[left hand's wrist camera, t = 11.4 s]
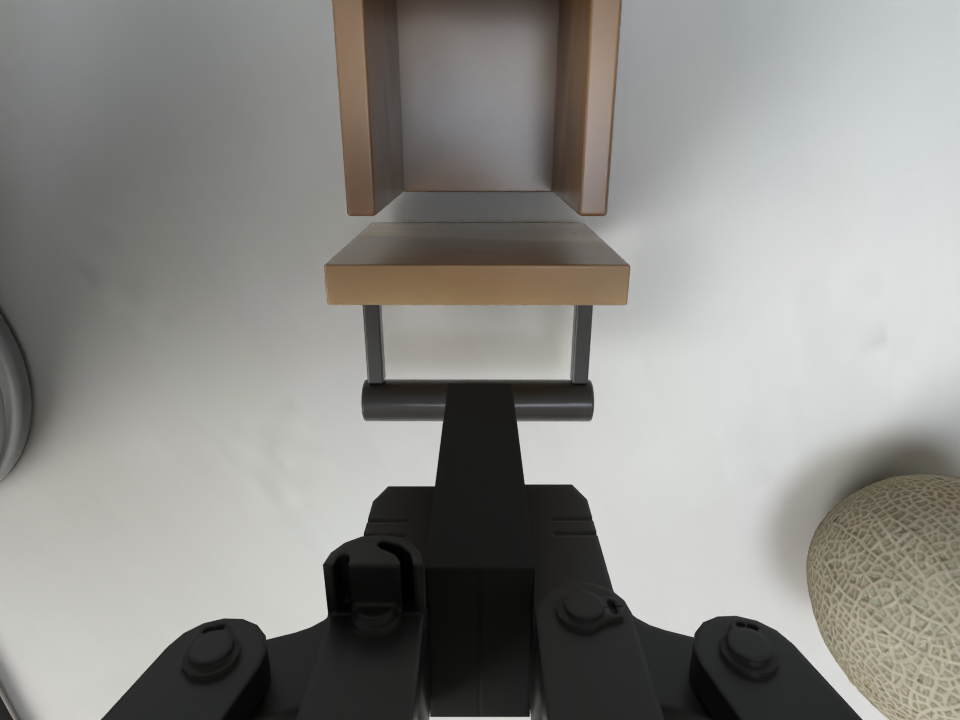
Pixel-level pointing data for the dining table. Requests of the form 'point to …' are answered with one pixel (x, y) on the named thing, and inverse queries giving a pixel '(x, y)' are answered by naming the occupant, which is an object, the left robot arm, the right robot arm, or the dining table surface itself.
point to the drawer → (477, 173)
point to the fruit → (893, 593)
